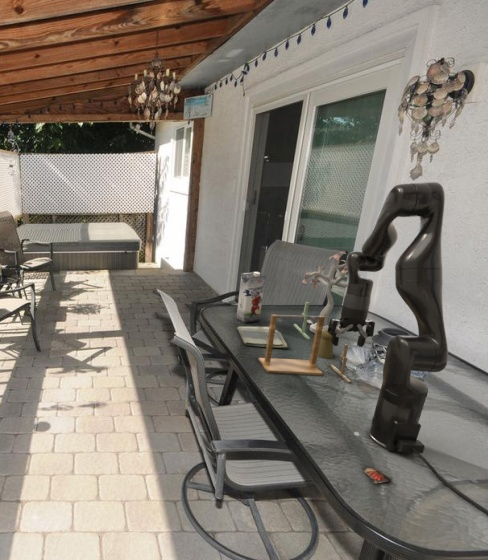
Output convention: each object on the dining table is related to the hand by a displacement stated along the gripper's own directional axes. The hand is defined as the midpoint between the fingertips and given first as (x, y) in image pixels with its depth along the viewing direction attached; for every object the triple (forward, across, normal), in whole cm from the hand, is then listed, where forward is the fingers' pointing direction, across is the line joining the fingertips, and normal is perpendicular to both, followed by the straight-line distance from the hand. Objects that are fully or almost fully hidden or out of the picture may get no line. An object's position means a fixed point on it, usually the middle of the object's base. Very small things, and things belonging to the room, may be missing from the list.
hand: (347, 345), depth 132 cm
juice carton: (+12, -18, +52) cm, 57 cm away
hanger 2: (+6, 0, 0) cm, 6 cm away
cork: (+13, +2, +16) cm, 21 cm away
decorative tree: (+12, +12, +42) cm, 46 cm away
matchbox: (+13, -18, -50) cm, 55 cm away
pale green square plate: (+13, -19, +29) cm, 37 cm away
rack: (+13, -17, +4) cm, 22 cm away
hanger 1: (-9, -15, +4) cm, 18 cm away
